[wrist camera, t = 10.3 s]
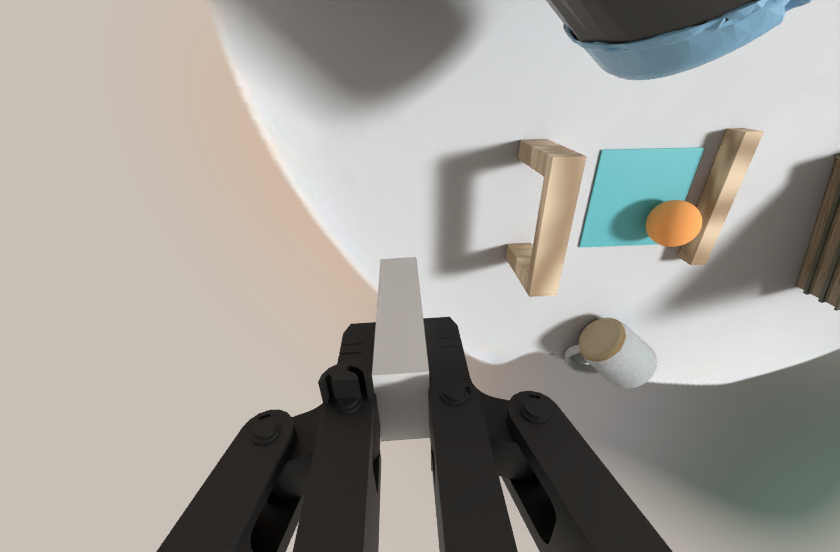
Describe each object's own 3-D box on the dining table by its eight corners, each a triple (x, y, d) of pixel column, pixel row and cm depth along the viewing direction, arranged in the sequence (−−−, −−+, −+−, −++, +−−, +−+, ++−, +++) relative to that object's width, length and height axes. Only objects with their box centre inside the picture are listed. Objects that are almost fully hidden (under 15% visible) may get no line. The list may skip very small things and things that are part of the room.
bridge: (505, 258, 47) (529, 296, 39) (520, 139, 39) (553, 157, 31) (528, 257, 47) (556, 295, 39) (547, 139, 40) (586, 156, 32)
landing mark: (601, 149, 41) (602, 150, 40) (703, 147, 41) (704, 148, 41) (579, 246, 46) (579, 247, 46) (668, 243, 47) (669, 243, 47)
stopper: (726, 128, 40) (745, 131, 38) (743, 128, 40) (763, 131, 38) (677, 256, 48) (690, 265, 46) (691, 255, 48) (705, 264, 46)
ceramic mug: (606, 304, 52) (637, 340, 45) (637, 332, 55) (670, 369, 48) (549, 349, 55) (570, 387, 49) (581, 372, 58) (604, 412, 52)
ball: (654, 192, 45) (651, 202, 41) (708, 198, 42) (711, 210, 38) (642, 233, 47) (638, 247, 43) (692, 242, 45) (693, 258, 41)
